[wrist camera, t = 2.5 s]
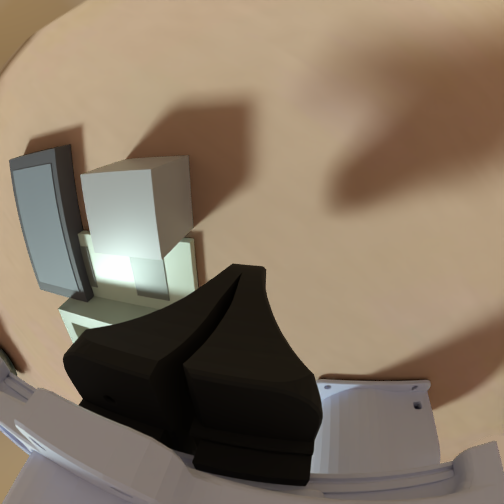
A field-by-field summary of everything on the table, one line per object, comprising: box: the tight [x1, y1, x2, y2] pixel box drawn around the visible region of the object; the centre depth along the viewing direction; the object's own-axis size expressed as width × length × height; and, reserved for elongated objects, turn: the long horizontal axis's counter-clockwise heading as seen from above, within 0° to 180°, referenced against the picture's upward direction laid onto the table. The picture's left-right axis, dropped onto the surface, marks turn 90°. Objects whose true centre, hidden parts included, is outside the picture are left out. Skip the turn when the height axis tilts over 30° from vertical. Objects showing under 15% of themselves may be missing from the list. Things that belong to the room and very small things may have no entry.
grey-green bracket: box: [58, 230, 198, 343], centre depth 18 cm, size 12×12×3 cm
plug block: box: [80, 155, 194, 260], centre depth 14 cm, size 5×4×4 cm
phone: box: [9, 144, 94, 302], centre depth 17 cm, size 6×11×2 cm, turn 0°
